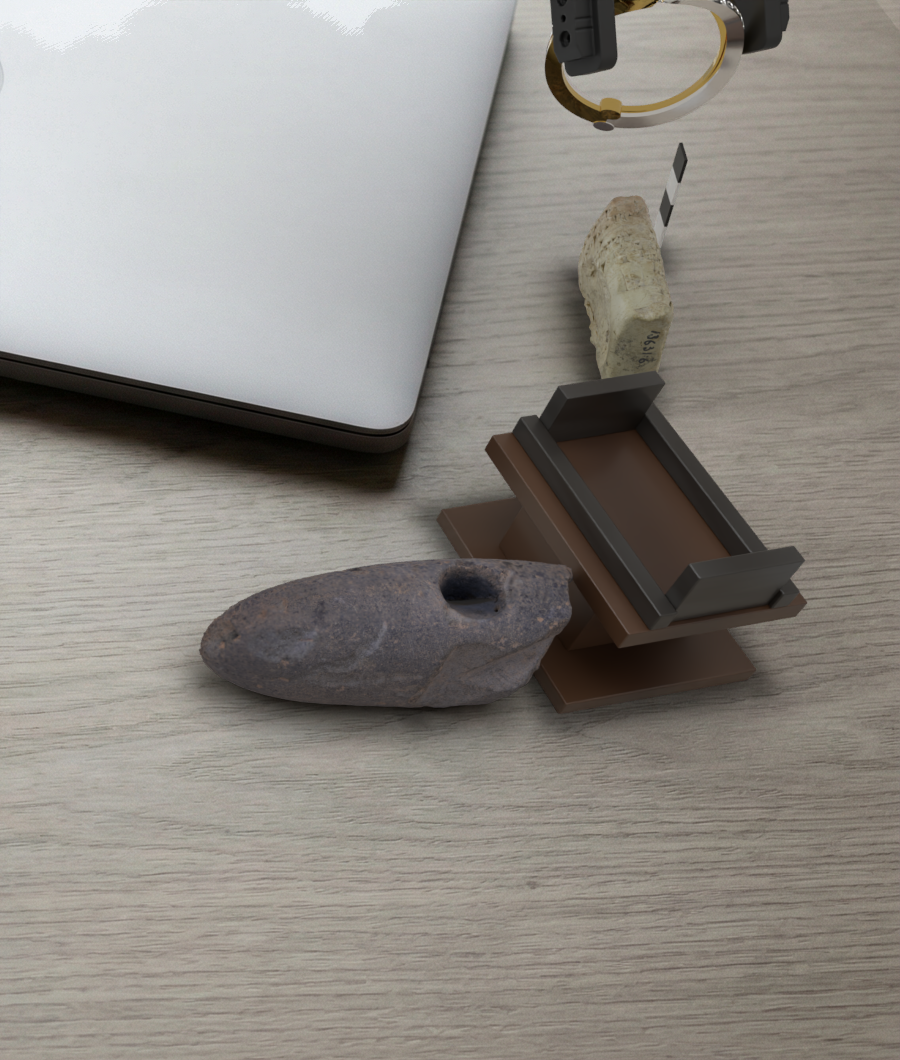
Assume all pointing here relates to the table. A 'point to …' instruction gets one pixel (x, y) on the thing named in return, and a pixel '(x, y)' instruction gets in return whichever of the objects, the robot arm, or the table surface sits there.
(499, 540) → the stand
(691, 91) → the ring
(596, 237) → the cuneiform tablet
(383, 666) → the perforated stone tool
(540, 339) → the table surface
